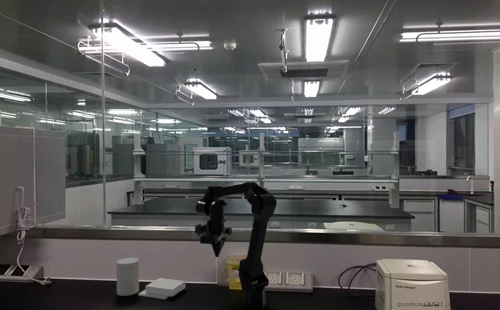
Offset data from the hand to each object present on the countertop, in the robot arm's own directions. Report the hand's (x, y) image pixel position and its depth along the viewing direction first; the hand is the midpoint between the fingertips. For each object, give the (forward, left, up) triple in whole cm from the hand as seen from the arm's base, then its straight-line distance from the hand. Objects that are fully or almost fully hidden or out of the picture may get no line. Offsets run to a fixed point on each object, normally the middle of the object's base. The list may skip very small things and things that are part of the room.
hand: (217, 256), depth 125 cm
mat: (+21, +8, -13) cm, 26 cm away
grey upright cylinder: (+33, +11, -13) cm, 38 cm away
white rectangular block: (+13, +7, -11) cm, 18 cm away
